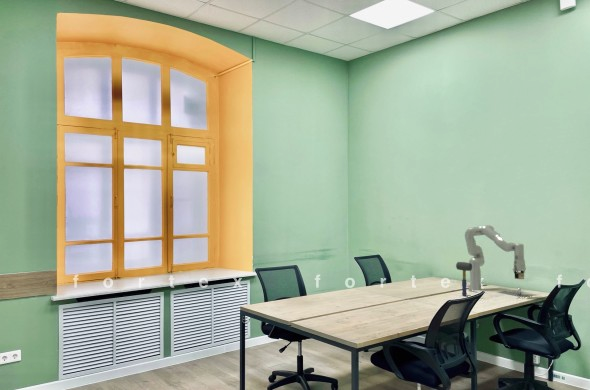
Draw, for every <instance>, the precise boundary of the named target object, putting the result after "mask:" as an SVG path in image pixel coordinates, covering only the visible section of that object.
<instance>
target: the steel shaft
mask: <svg viewBox="0 0 590 390" xmlns="http://www.w3.org/2000/svg"><path fill="white" fill-rule="evenodd" d="M517 293H518V295H519V296H521V294H522V288H521V287H517Z"/></svg>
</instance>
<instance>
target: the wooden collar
mask: <svg viewBox="0 0 590 390" xmlns="http://www.w3.org/2000/svg"><path fill="white" fill-rule="evenodd" d="M514 279H515V280H524V279H525V273H521V271H518V278H515V277H514Z"/></svg>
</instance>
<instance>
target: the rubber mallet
mask: <svg viewBox="0 0 590 390" xmlns="http://www.w3.org/2000/svg"><path fill="white" fill-rule="evenodd" d="M455 268H456V270H460V271H462V279H461V281H462V282H461V287H462V293H461V295H462V296H463V297H466V296H467V294H468V293H467V286H468V285H467V284H468V283H467V279H466V275H467V273H466V272H467V271H468V272H470V271H471V270H472V264H471V263H469V262H467V261H466V262H465V261H457V263H456V265H455Z"/></svg>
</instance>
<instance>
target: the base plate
mask: <svg viewBox="0 0 590 390" xmlns="http://www.w3.org/2000/svg"><path fill="white" fill-rule="evenodd" d="M497 293H498V294H502V295H508V296H514V297H516V298H520V297H527V296H529V295H528V294H522V293H521V296H519V295H518V292H512V291H507V290H502V291H497Z"/></svg>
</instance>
